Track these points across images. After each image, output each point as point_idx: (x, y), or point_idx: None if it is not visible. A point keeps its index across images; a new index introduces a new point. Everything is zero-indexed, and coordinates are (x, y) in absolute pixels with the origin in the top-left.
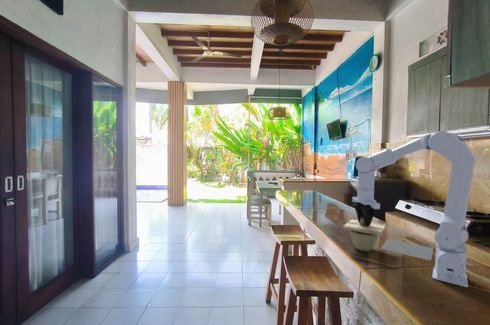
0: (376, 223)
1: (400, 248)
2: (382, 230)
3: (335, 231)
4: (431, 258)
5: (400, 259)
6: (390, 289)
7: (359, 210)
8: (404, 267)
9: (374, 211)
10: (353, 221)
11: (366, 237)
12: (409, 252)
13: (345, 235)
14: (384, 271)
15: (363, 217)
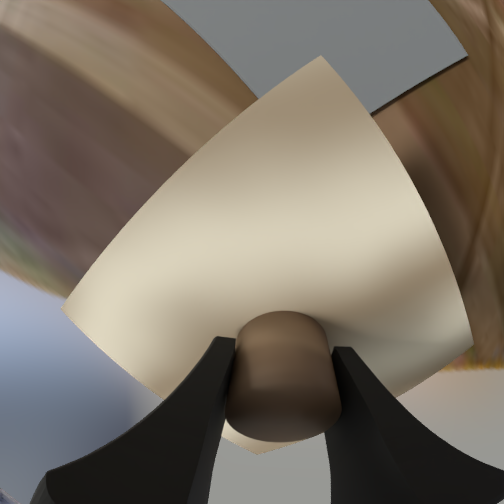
0: (239, 148)
1: (321, 28)
2: (459, 293)
3: (20, 221)
4: (449, 28)
5: (433, 163)
6: (493, 358)
7: (206, 501)
8: (479, 226)
9: (459, 478)
10: (123, 341)
11: None
12: (382, 39)
13: (60, 204)
14: None
15: (263, 420)
